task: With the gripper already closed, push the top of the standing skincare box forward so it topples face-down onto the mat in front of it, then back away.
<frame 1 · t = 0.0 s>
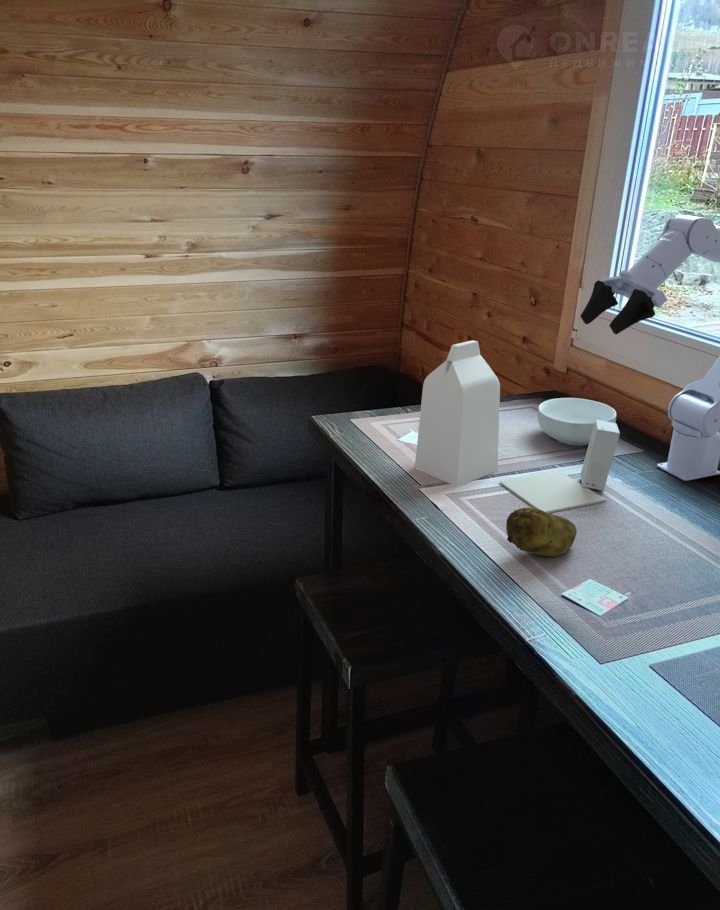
hand: (597, 325, 134), 32 cm above the table, tool tilted 50°, fingers open, 7 cm apart
potato: (540, 553, 126), on the table
cereal bowl: (573, 439, 172), on the table
mat: (551, 492, 147), on the table
milk: (455, 470, 156), on the table
skincare box: (591, 484, 150), on the table, touching mat
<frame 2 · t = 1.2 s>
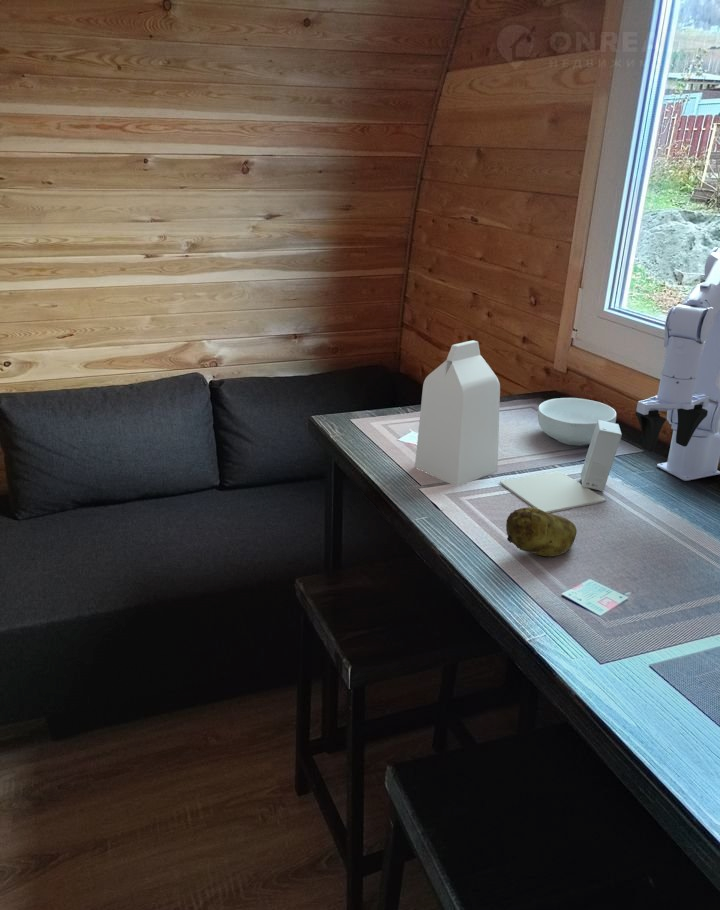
hand: (665, 447, 140), 11 cm above the table, tool pointing down, fingers open, 7 cm apart
nothing on the table moved.
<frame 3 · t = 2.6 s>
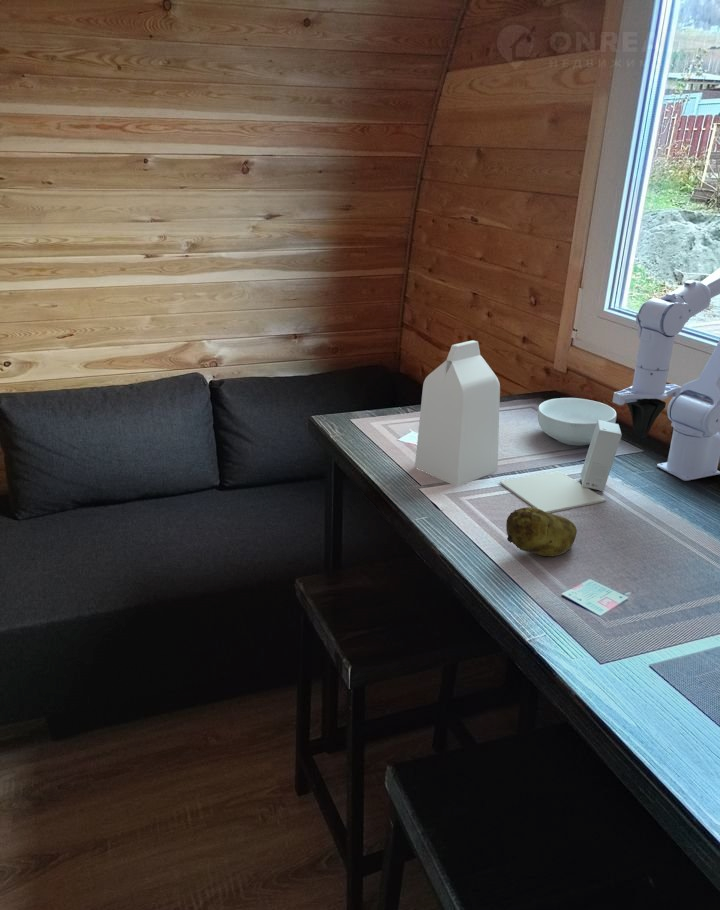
hand: (640, 436, 146), 10 cm above the table, tool pointing down, fingers closed
nothing on the table moved.
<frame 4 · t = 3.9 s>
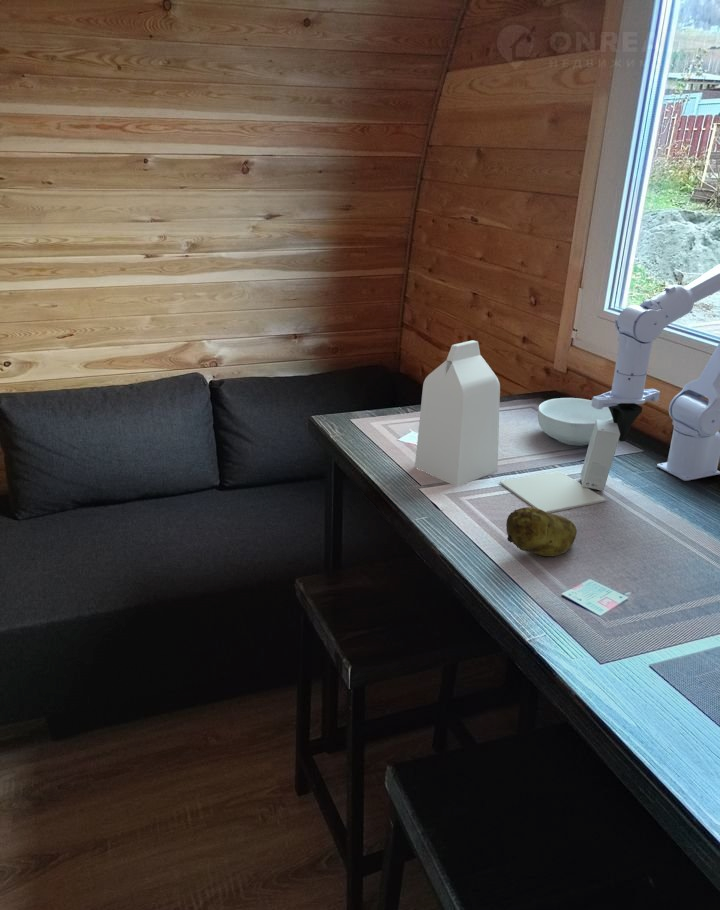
hand: (619, 439, 149), 9 cm above the table, tool pointing down, fingers closed
skincare box: (591, 483, 150), on the table, touching gripper, mat
everything else where it was.
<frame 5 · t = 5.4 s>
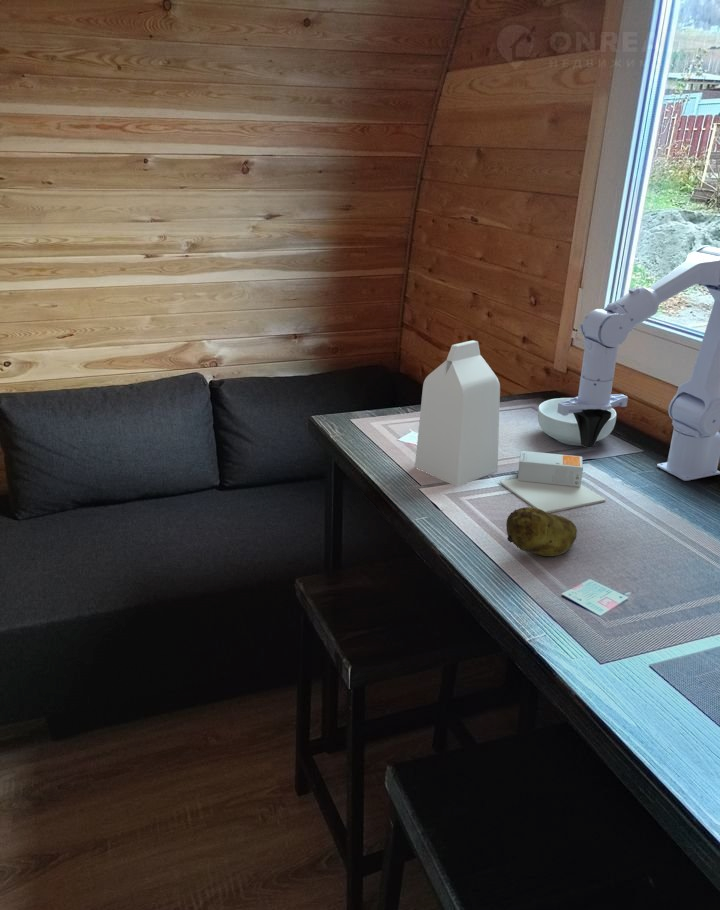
hand: (587, 445, 146), 8 cm above the table, tool pointing down, fingers closed
skincare box: (582, 471, 149), point 3 cm above the table, touching mat
everything else where it was.
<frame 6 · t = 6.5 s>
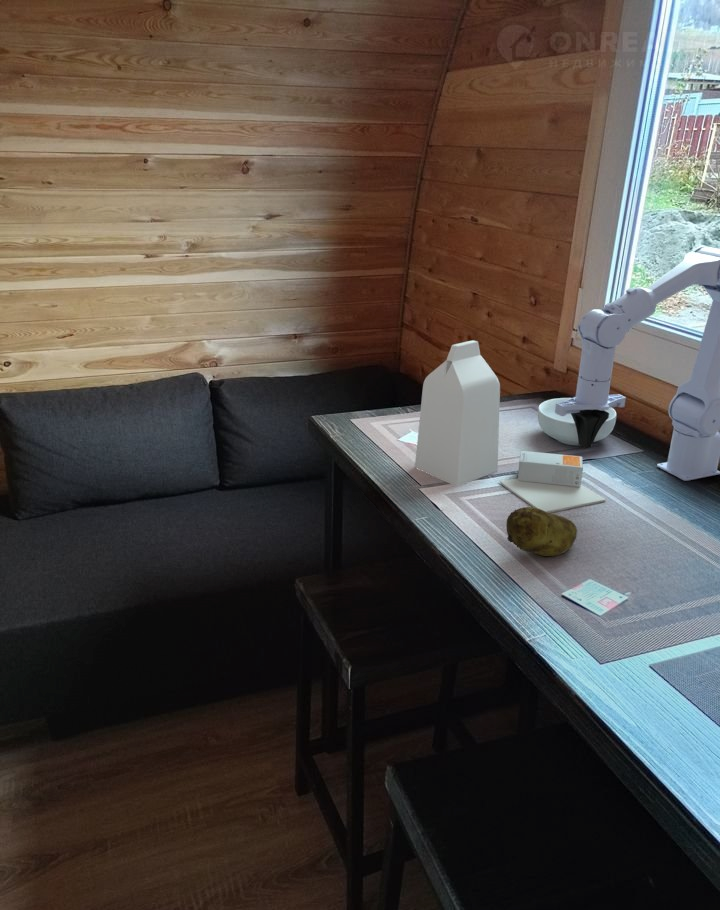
hand: (584, 446, 146), 8 cm above the table, tool pointing down, fingers closed
nothing on the table moved.
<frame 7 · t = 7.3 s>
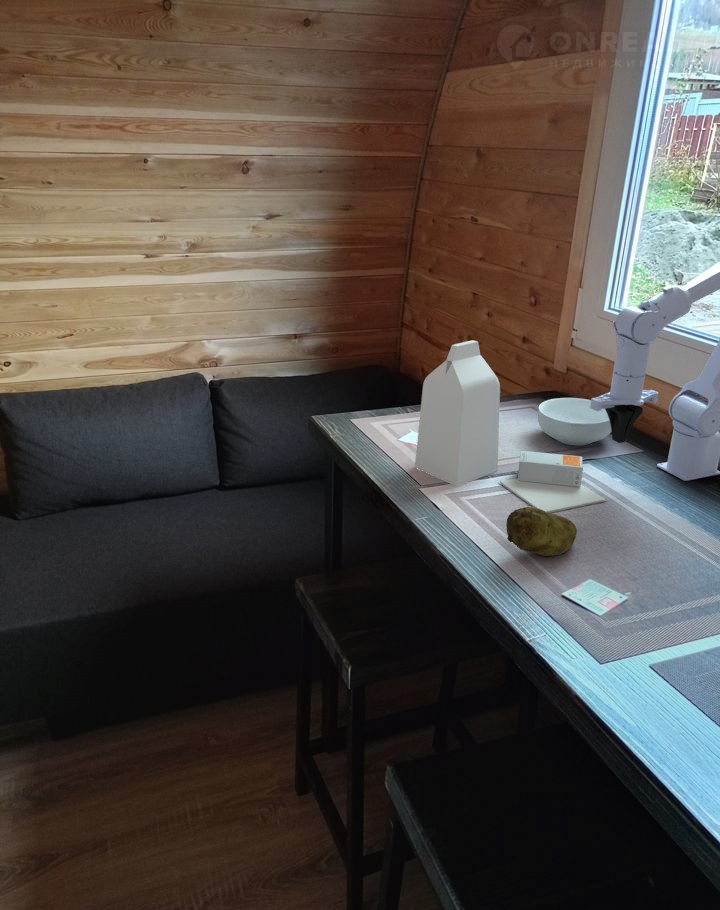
hand: (618, 440, 149), 8 cm above the table, tool pointing down, fingers closed
nothing on the table moved.
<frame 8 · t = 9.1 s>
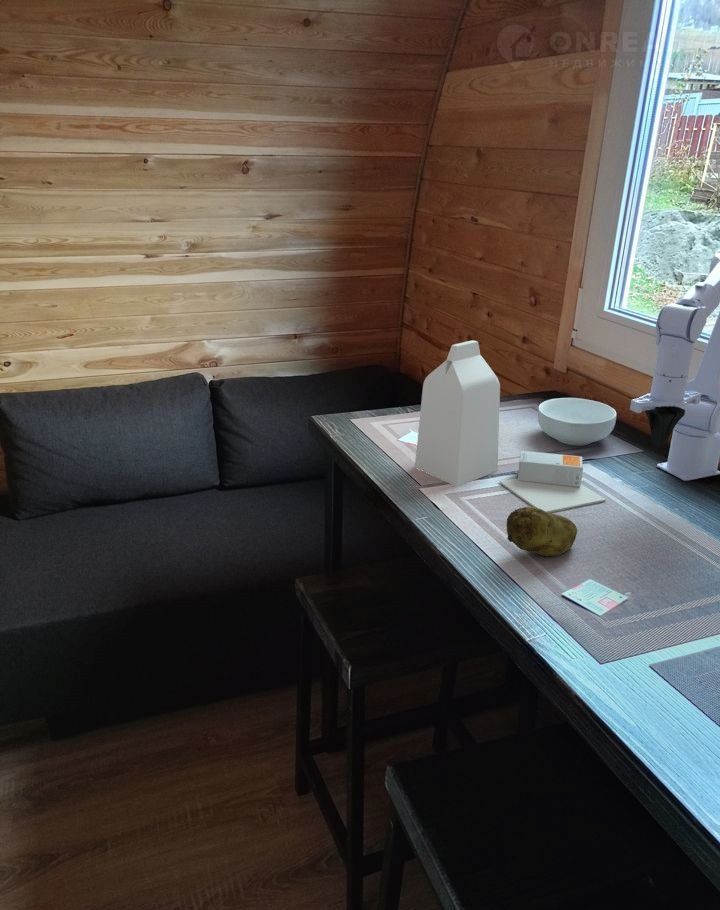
hand: (658, 444, 142), 10 cm above the table, tool pointing down, fingers closed
nothing on the table moved.
at the end: skincare box tilted 91°; skincare box inside the target area (5.4 cm from its centre), point 2.6 cm above the table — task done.
